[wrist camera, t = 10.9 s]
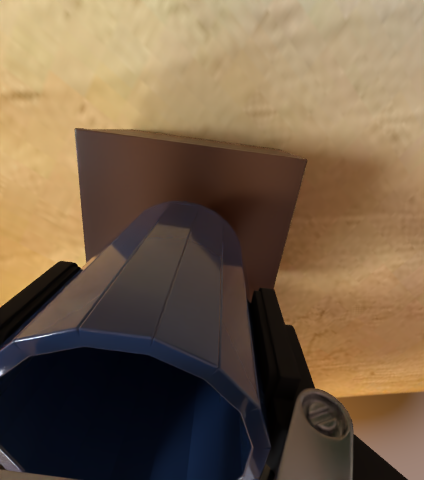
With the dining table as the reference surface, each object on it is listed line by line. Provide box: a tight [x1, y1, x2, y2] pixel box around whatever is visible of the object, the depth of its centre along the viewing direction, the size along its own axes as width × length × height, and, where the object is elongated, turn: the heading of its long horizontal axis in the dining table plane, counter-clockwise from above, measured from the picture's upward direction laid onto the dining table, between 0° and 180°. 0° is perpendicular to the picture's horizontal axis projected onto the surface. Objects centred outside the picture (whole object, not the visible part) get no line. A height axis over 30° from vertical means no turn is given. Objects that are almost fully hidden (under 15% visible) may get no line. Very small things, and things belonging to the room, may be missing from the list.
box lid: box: [75, 128, 307, 301], centre depth 17 cm, size 13×12×1 cm
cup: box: [0, 201, 272, 480], centre depth 10 cm, size 7×7×9 cm
